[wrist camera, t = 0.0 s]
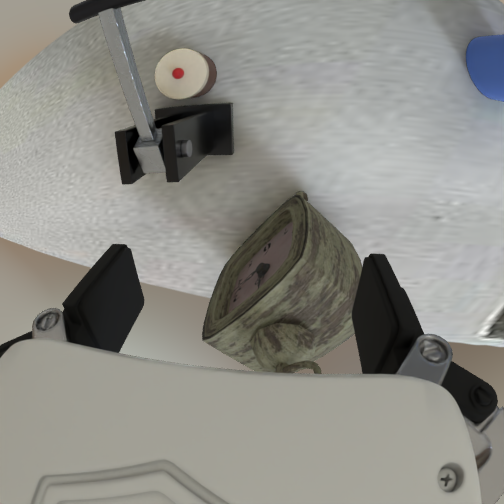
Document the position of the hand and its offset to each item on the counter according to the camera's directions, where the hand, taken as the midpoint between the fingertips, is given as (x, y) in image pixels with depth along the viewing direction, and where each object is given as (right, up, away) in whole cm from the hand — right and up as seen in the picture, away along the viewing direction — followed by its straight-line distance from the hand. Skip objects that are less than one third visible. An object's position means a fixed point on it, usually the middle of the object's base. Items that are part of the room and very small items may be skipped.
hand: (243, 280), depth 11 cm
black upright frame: (-6, +15, +21) cm, 26 cm away
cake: (-6, +21, +17) cm, 28 cm away
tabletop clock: (+5, +3, +27) cm, 28 cm away
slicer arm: (-8, +13, +6) cm, 16 cm away
